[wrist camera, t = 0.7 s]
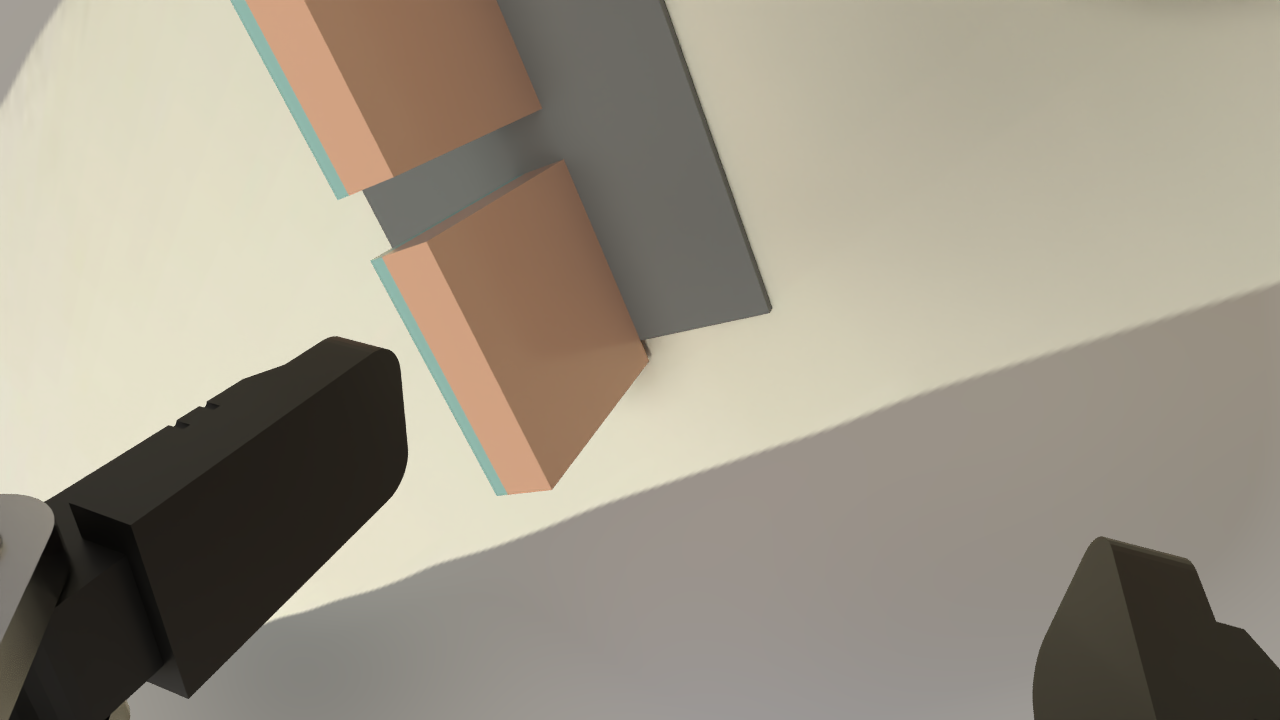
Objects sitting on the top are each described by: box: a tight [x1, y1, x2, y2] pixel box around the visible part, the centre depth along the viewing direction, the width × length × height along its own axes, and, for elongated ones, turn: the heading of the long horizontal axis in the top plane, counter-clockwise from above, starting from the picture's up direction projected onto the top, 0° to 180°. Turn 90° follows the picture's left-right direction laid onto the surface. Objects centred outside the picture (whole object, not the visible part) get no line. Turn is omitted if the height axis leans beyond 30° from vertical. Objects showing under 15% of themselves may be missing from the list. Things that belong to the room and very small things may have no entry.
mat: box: [362, 0, 772, 341], centre depth 31 cm, size 16×18×1 cm
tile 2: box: [371, 159, 649, 496], centre depth 29 cm, size 2×9×9 cm, turn 24°
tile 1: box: [230, 0, 542, 200], centre depth 25 cm, size 2×9×9 cm, turn 24°
